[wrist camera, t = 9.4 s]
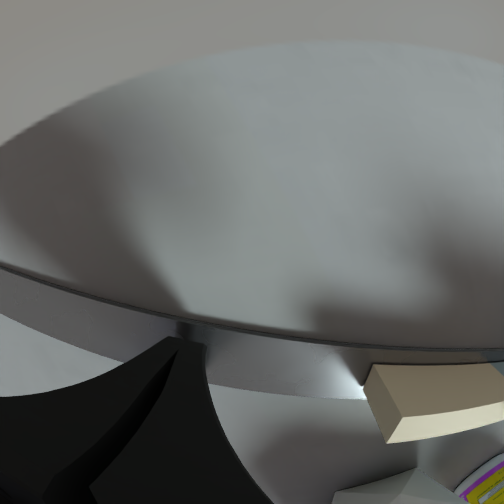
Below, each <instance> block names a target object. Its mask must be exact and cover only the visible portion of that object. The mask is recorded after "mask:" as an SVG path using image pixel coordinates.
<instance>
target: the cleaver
mask: <svg viewBox="0 0 504 504" xmlns="http://www.w3.org/2000/svg"><path fill="white" fill-rule="evenodd" d="M363 392H364V394H365V396H366V398H367V401H368V403H369V405H370V407H371V410H372V412H373V414H374V416H375V419H376V421H377V423H378V426H379V428H380V430H381V433H382V435H383V438H384V440H385V442H386V444H388V443H398V442H406V441H413V440H420V439H426V438H432V437H438V436H443V435H448V434H453V433H457V432H462V431H466V430H470V429H474V428H478V427H481V426H485V425H488V424H492V423H495V422H498V421H501V420H504V362H497V363H485V364H468V365H437V366H408V365H376V364H373V366H372V369H371V371H370V374H369V376H368V378H367V380H366V383H365V385H364V387H363Z"/></svg>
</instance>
